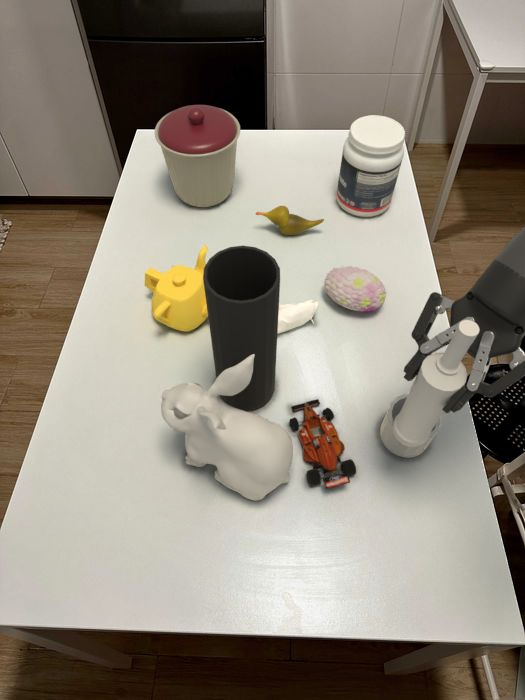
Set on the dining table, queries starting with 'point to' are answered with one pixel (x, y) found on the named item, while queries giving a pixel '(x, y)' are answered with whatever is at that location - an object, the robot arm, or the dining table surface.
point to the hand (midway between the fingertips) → (426, 394)
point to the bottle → (434, 388)
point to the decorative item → (355, 288)
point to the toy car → (322, 446)
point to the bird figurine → (295, 314)
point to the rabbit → (230, 434)
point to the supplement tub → (370, 165)
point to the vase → (244, 318)
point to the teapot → (179, 295)
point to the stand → (389, 437)
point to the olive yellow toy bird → (289, 221)
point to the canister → (199, 152)
